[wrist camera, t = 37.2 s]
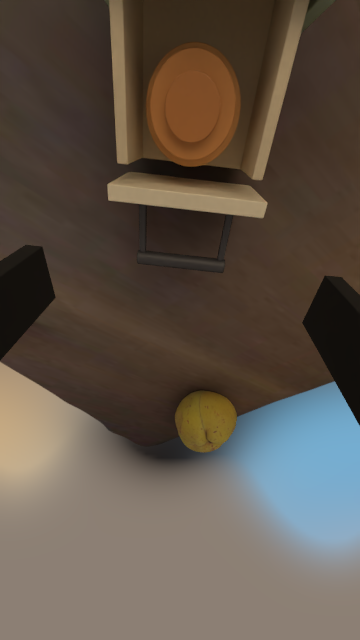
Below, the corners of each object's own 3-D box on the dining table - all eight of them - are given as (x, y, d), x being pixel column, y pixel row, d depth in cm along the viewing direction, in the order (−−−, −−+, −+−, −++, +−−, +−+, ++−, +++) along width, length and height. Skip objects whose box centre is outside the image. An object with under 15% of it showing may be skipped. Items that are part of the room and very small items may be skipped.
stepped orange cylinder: (140, 138, 23) (126, 139, 18) (172, 31, 19) (164, -2, 14) (208, 177, 24) (211, 187, 20) (252, 86, 20) (268, 73, 16)
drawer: (233, 255, 30) (243, 288, 24) (131, 244, 30) (113, 273, 24) (306, -51, 17) (372, -161, 11) (122, -76, 17) (77, -202, 10)
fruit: (164, 396, 50) (157, 446, 42) (204, 368, 44) (206, 420, 36) (203, 418, 54) (204, 468, 46) (245, 395, 48) (255, 447, 40)
